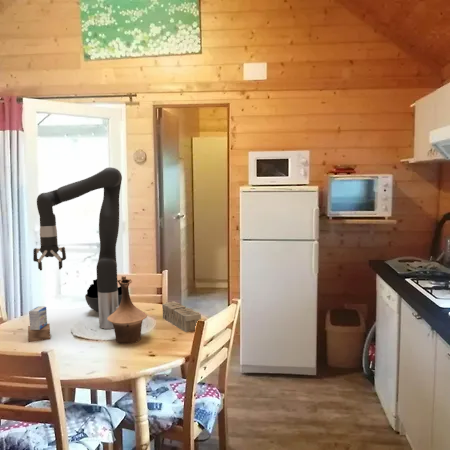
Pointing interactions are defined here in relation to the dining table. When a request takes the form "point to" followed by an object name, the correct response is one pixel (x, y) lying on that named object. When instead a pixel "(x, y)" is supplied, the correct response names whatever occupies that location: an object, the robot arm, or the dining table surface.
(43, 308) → the medicine box
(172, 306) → the block tower
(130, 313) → the brown clay vase
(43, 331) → the walnut block
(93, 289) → the bowl of black rocks
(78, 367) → the dining table surface
